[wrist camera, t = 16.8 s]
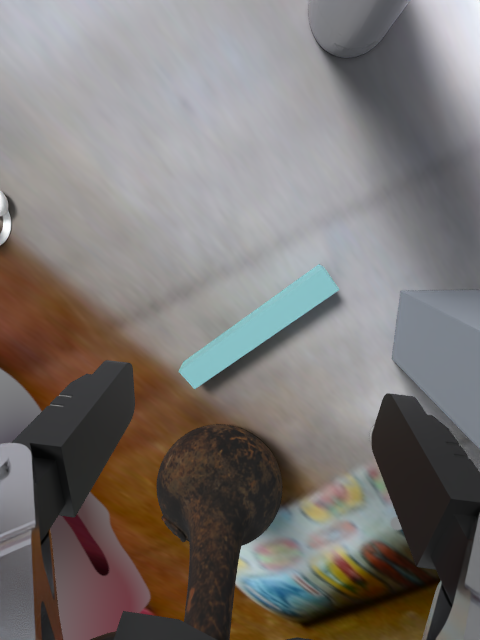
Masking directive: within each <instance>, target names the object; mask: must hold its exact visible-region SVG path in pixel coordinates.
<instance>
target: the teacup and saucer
mask: <svg viewBox="0 0 480 640" xmlns="http://www.w3.org/2000/svg"><path fill="white" fill-rule="evenodd" d="M0 216H3V222H4V223H3V229H2V232H1V233H0V245H1V244H3V243H4V242H5V241H6V240H7V238H8V237H9V234H10V231H11V217H10V214H9V211H8V201H7V198H6V196H5V195H4V193H3V192H2V191H1V190H0Z"/></svg>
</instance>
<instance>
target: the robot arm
mask: <svg viewBox="0 0 480 640" xmlns="http://www.w3.org/2000/svg"><path fill="white" fill-rule="evenodd" d="M409 1H410V0H309V8H308V15H309V22H310V26H311V29H312V32H313V35H314V37H315V38H316V40H317V42H318V43H319V44H320V45H321V46H322V48H323V49H324V50H326V51H327V52H329V53H330V54H332V55H335V56H338V57H344V58H351V57H357V56H360V55H362V54H364V53H367V52H368V51H369V50H371V49H372V48H374V47H375V46H376V45H377V44H378V43H379V42H380V41H381V40H382V38H383V37H384V36H385V34H386V33H387V32H388V30H389V29H390V27H391V26H392V25H393V23H394V22H395V20H396V19H397V18H398V16H399V15H400V14H401V12H402V11H403V10H404V8H405V7H406V5H407V4H408V3H409ZM134 407H135V397H134V382H133V368H132V365H131V364H130V363H125V362H117V361H108V360H107V361H104V362H103V363H102V364H101V366H100V367H99V368H98V369H97V370H96V371H95V372H94V373H93V374H92V375H91V374H86V375H84V376H82V377H80V378H78V379H77V380H75V381H73V382H71V383H70V384H69V385H68V386H67V387H66V388H65V389H64V390H63V391H62V392H61V393H60V395H59V396H57V397H56V398H55V399H54V400H53V401H52V402H51V403H50V406H47V407H46V408H45V409H44V410H43V411H42V412H41V413H40V415H38V416H37V417H36V418H35V419H34V420H33V421H32V422H31V424H30V425H28V427H27V428H25V429H24V430H23V431H22V432H21V434H20V435H18V436H17V438H16V439H15V440H14V441H13V442H12V443H5V444H0V640H63V634H62V629H61V623H60V617H59V609H58V600H57V591H56V580H55V569H54V559H53V548H52V538H51V531H50V528H51V526H52V525H53V523H54V521H55V520H56V518H57V517H58V515H61V516H68V517H75V516H76V515H77V513H78V511H79V509H80V508H81V506H82V504H83V503H84V501H85V499H86V497H87V495H88V494H89V492H90V490H91V489H92V487H93V485H94V484H95V482H96V480H97V478H98V477H99V475H100V473H101V472H102V470H103V468H104V466H105V465H106V463H107V461H108V459H109V458H110V456H111V454H112V453H113V451H114V449H115V447H116V446H117V444H118V442H119V440H120V439H121V437H122V435H123V434H124V432H125V430H126V428H127V427H128V425H129V423H130V421H131V419H132V416H133V413H134ZM371 442H372V450H373V454H374V456H375V459H376V462H377V464H378V467H379V469H380V472H381V475H382V477H383V480H384V483H385V485H386V488H387V490H388V493H389V496H390V498H391V501H392V503H393V506H394V509H395V511H396V514H397V516H398V519H399V522H400V524H401V527H402V530H403V532H404V535H405V537H406V540H407V543H408V545H409V548H410V550H411V553H412V556H413V558H414V561H415V563H416V566H417V567H422V568H430V569H436V570H437V572H438V575H439V577H440V579H441V581H440V583H439V584H438V587H437V589H436V592H435V596H434V599H433V603H432V607H431V610H430V614H429V617H428V621H427V624H426V628H425V631H424V635H423V639H422V640H480V472H479V471H478V469H477V468H476V467H475V465H474V464H473V462H472V461H471V460H470V459H468V457H467V456H468V455H467V454H466V453H465V451H464V450H463V449H462V447H461V446H459V445H458V444H459V443H458V442H457V440H456V439H455V438H454V436H453V435H452V433H451V432H450V431H449V429H448V428H447V427H445V426H444V425H443V424H442V423H441V422H439V421H438V420H437V419H436V418H435V417H433V416H432V415H427V414H426V412H425V411H424V410H423V408H422V407H421V405H420V404H419V402H418V401H417V399H416V398H415V397H413V396H405V395H397V394H386V395H385V396H384V398H383V400H382V403H381V407H380V410H379V413H378V416H377V419H376V422H375V425H374V428H373V432H372V440H371ZM91 640H216V639H215V638H213V637H211V636H209V635H207V634H205V633H203V632H201V631H199V630H198V629H196V628H194V627H192V626H190V625H188V624H186V623H184V622H183V621H181V620H179V619H172V618H165V617H159V616H152V615H146V614H139V613H132V612H126V611H123V613H122V616H121V619H120V622H119V625H118V628H117V631H116V632H111V633H107V634H104V635H101V636H99V637H96V638H93V639H91ZM287 640H310V639H303V638H292V639H287Z"/></svg>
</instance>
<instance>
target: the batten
mask: <svg viewBox="0 0 480 640" xmlns="http://www.w3.org/2000/svg"><path fill="white" fill-rule="evenodd" d="M338 290H339V288H338V287H337V286H336V284H335V283H334V281H333V280H332V278H331V277H330V275H329V274H328V273H327V271H326V270H325V268H324V267H323V266H321V265H320V264H319V265H317V266H316V267H314V268H313V269H312V270H310V271H309V272H308V273H306V274H305V275H303V276H302V277H301V278H299V279H298V280H296V281H295V282H294V283H292V284H291V285H289V286H288V287H287V288H285V289H284V290H282V291H281V292H280V293H278V294H277V295H276V296H274V297H273V298H271V299H270V300H269V301H267V302H266V303H264V304H263V305H262V306H260V307H259V308H257V309H256V310H255V311H253V312H252V313H251V314H249V315H248V316H246V317H245V318H244V319H242V320H241V321H239V322H238V323H237V324H235V325H234V326H232V327H231V328H230V329H228V330H227V331H226V332H224V333H223V334H221V335H220V336H219V337H217V338H216V339H214V340H213V341H212V342H210V343H209V344H207V345H206V346H205V347H203V348H202V349H200V350H199V351H198V352H196V353H195V354H194V355H192V356H191V357H189V358H188V359H187V360H185V361H184V362H183V364H182V366H181V368H180V370H179V372H180V374H181V375H182V376H183V377H184V378H185V379H186V380H187V381H188V382H189V384H190V385H191V386H192V387H193V388H194V389H196V388H197V387H199V386H200V385H202V384H203V383H204V382H206V381H207V380H209V379H210V378H212V377H213V376H215V375H216V374H218V373H219V372H221V371H222V370H223V369H225V368H226V367H228V366H229V365H231V364H232V363H234V362H235V361H237V360H238V359H239V358H241V357H242V356H244V355H245V354H247V353H248V352H250V351H251V350H253V349H254V348H255V347H257V346H258V345H260V344H261V343H263V342H264V341H266V340H267V339H269V338H270V337H271V336H273V335H274V334H276V333H277V332H279V331H280V330H282V329H283V328H285V327H286V326H287V325H289V324H290V323H292V322H293V321H295V320H296V319H298V318H299V317H301V316H302V315H303V314H305V313H306V312H308V311H309V310H311V309H312V308H314V307H315V306H317V305H318V304H320V303H321V302H322V301H324V300H325V299H327V298H328V297H330V296H331V295H333V294H334V293H336V292H337V291H338Z"/></svg>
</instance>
